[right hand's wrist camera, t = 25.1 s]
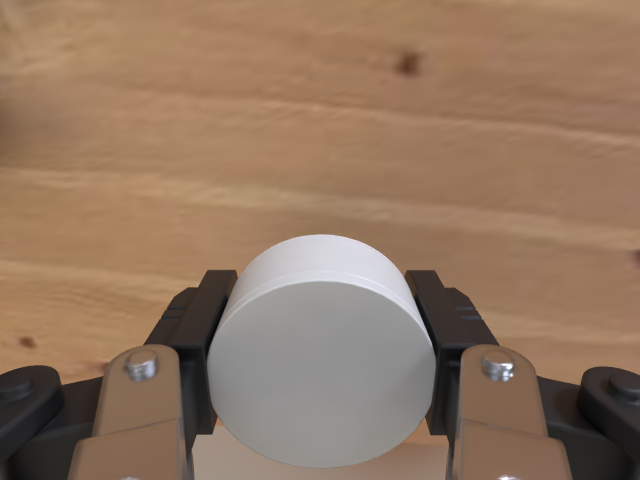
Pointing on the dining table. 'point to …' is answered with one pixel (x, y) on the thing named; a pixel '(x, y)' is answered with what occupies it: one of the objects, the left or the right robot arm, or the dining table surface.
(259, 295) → the lid
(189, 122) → the dining table surface
